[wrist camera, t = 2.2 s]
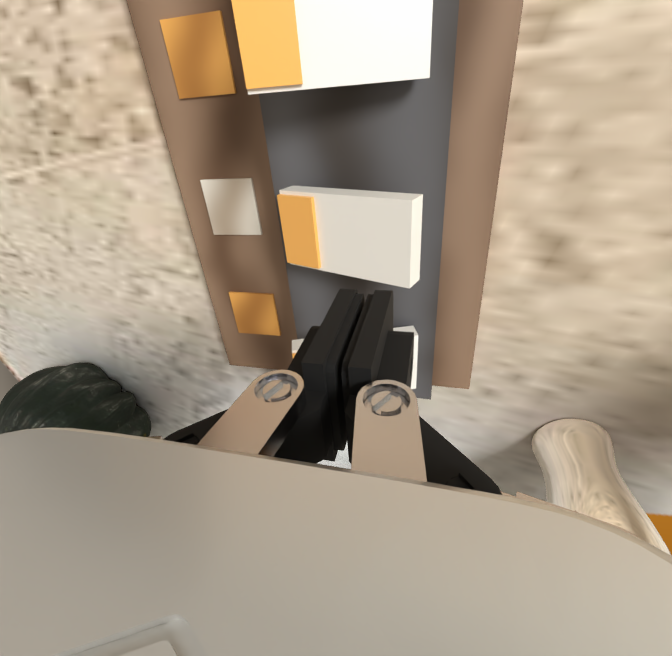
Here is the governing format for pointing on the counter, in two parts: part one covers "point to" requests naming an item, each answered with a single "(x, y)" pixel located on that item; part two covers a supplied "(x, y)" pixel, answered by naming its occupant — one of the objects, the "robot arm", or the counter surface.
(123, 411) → the squash
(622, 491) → the beige tall curved piece
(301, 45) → the plate
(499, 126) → the switch unit
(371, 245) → the block
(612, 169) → the counter surface
